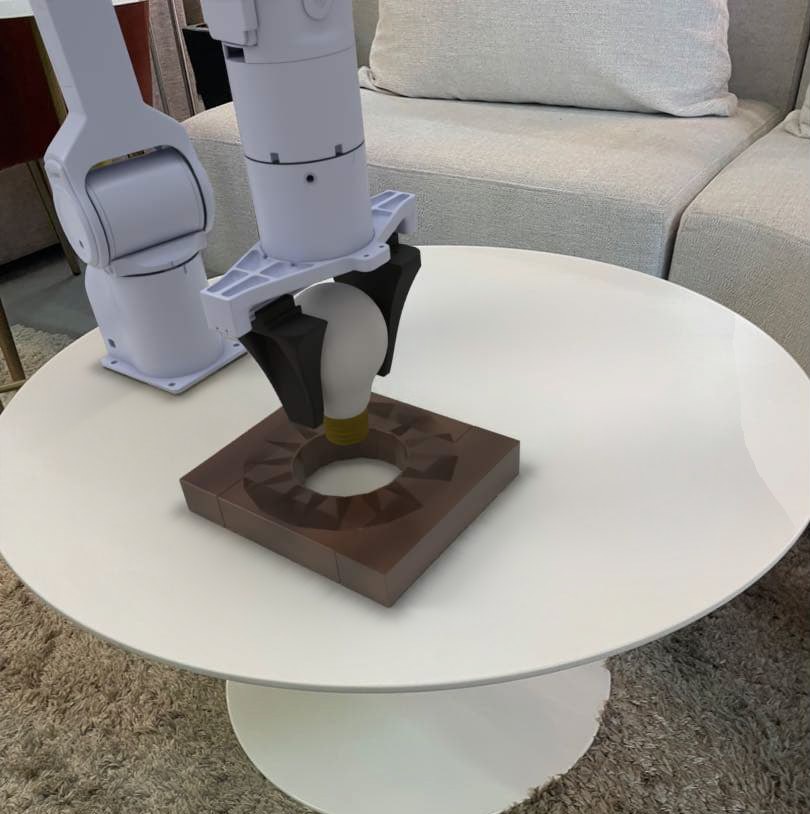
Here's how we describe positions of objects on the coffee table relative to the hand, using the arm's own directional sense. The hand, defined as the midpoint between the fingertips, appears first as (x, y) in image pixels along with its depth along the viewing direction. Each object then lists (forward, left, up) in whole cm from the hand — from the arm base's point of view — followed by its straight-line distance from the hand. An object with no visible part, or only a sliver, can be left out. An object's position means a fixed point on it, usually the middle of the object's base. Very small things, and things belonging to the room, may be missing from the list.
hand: (340, 395), depth 47 cm
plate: (0, 0, -7) cm, 7 cm away
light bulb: (0, 0, -4) cm, 4 cm away
